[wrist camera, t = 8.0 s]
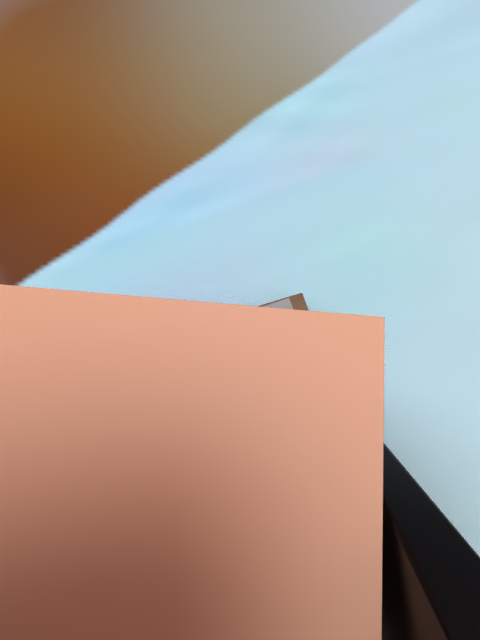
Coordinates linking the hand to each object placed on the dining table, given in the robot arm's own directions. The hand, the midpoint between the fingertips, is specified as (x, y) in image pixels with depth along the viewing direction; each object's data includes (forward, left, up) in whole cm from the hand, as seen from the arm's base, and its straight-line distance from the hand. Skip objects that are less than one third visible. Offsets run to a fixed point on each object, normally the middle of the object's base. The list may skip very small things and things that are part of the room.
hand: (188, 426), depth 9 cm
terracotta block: (-1, +1, -7) cm, 7 cm away
